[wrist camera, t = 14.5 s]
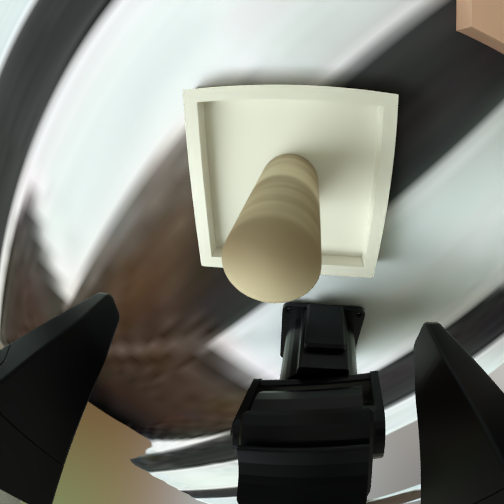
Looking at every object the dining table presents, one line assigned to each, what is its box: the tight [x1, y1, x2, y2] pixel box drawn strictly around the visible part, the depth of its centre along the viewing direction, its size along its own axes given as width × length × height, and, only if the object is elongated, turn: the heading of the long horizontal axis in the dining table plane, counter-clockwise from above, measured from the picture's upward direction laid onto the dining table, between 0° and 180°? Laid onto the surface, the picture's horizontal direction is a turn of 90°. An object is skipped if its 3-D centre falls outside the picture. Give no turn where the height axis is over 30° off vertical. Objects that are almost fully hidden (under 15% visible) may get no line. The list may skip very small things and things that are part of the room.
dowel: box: [222, 154, 322, 303], centre depth 14 cm, size 3×3×9 cm
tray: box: [183, 85, 398, 278], centre depth 17 cm, size 12×12×2 cm
